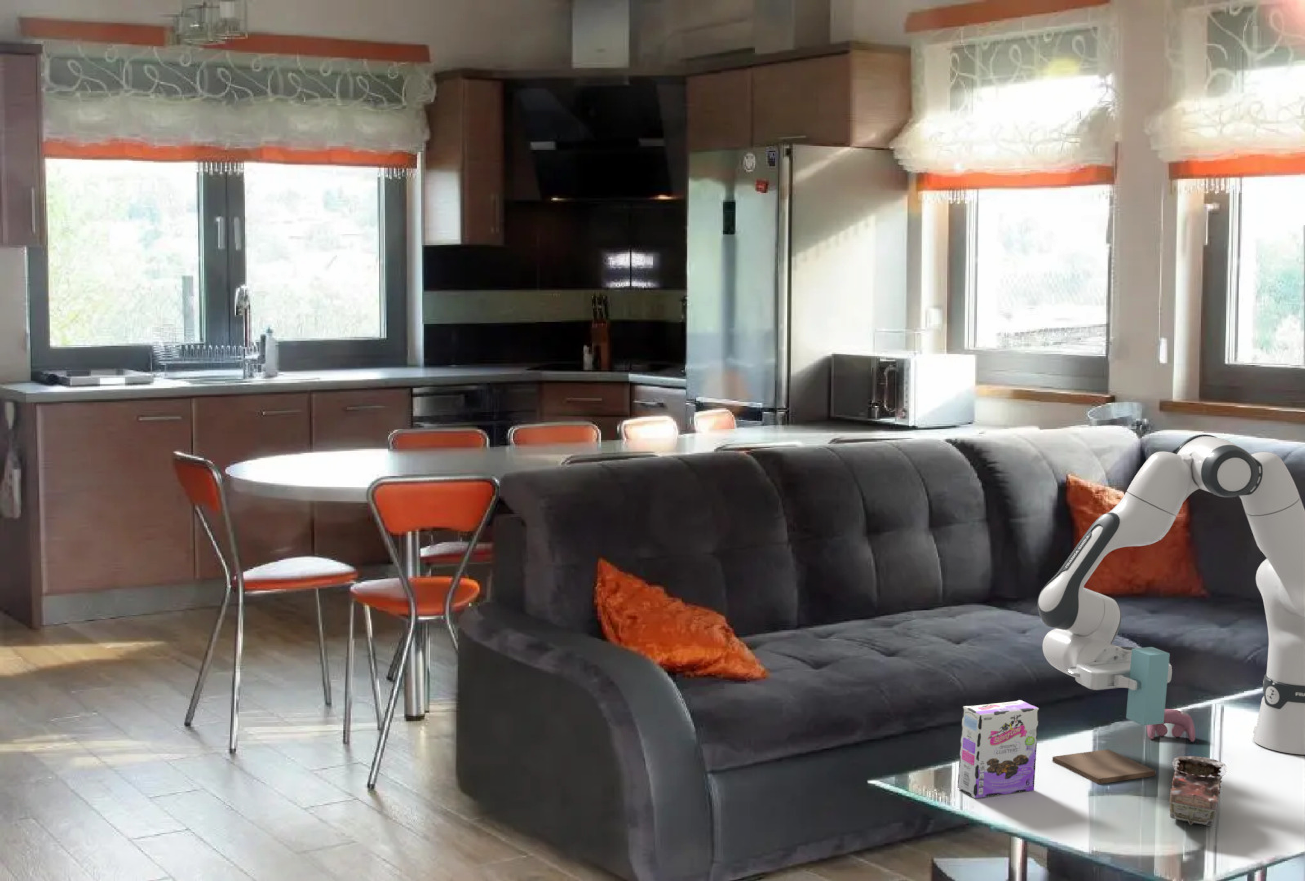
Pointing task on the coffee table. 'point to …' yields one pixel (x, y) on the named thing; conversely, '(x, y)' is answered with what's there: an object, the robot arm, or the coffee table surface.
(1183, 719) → the video game controller
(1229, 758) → the coffee table surface
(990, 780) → the candy box
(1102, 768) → the walnut board
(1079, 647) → the robot arm
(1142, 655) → the teal block
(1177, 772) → the decorative box
